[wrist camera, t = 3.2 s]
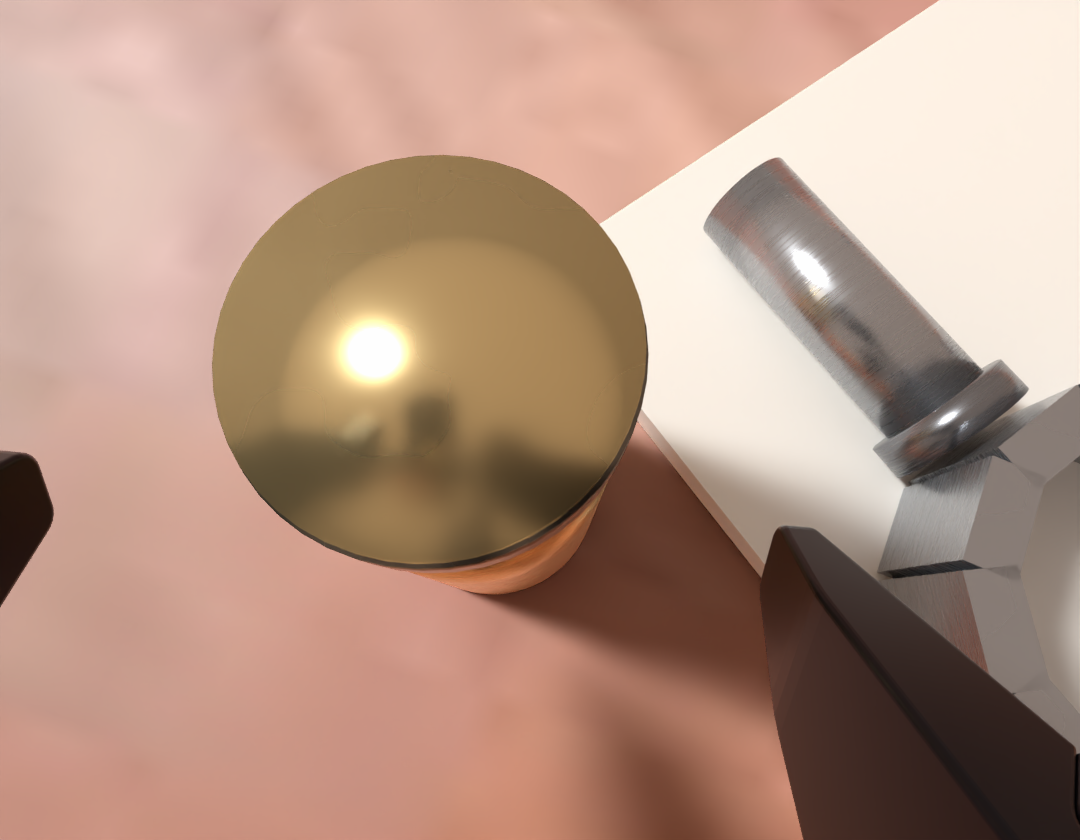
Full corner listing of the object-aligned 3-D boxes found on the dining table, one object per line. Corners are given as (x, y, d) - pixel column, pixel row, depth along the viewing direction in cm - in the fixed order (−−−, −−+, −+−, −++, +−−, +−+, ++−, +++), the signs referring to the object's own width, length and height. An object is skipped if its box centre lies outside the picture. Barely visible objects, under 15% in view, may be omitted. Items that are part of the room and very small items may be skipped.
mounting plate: (1619, 481, 18) (1682, 473, 17) (1092, 998, 15) (1130, 1024, 14) (1018, -37, 22) (1040, -67, 21) (531, 287, 19) (530, 269, 18)
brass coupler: (637, 514, 18) (742, 388, 8) (467, 640, 17) (358, 667, 7) (518, 357, 19) (485, 83, 9) (354, 469, 18) (130, 298, 8)
